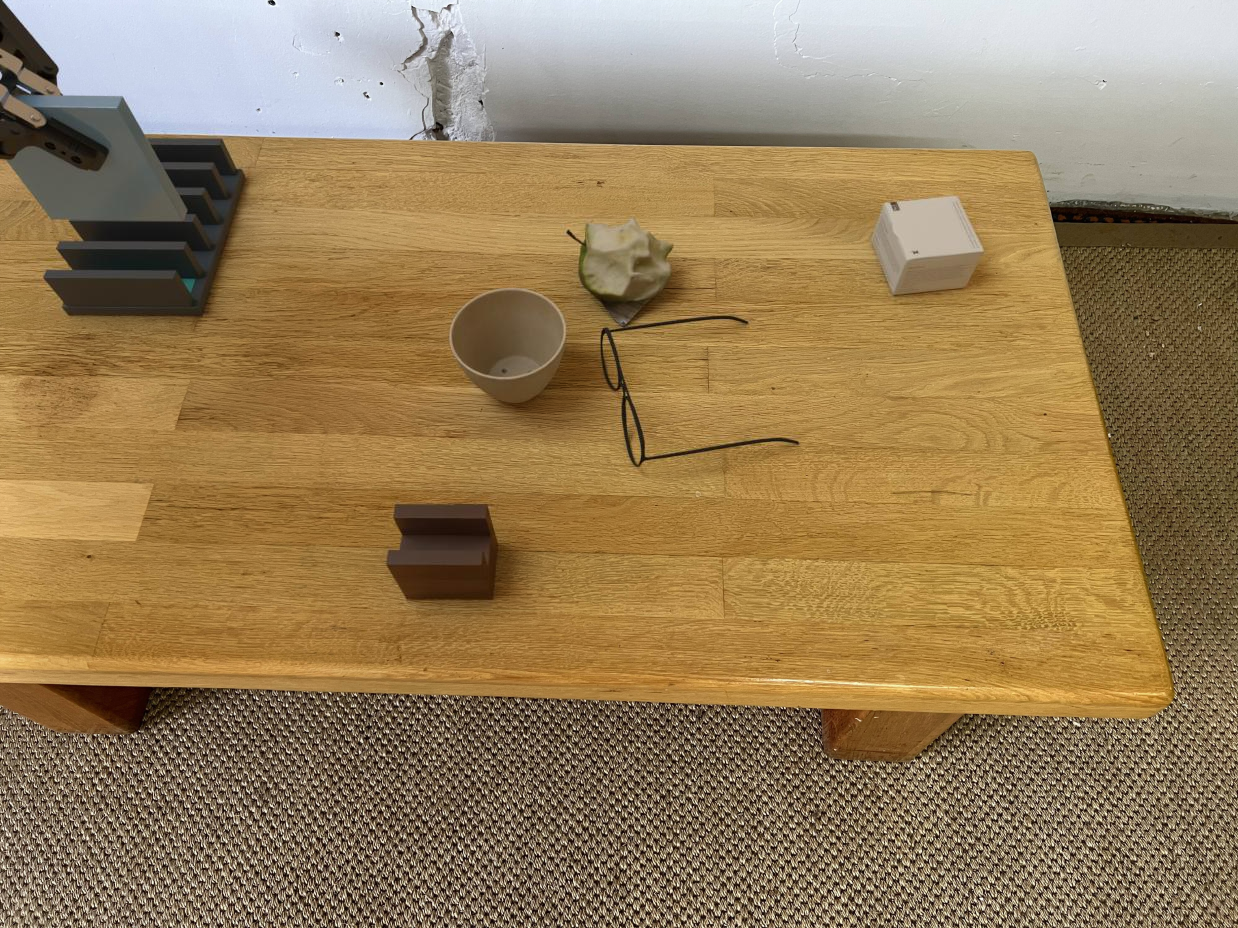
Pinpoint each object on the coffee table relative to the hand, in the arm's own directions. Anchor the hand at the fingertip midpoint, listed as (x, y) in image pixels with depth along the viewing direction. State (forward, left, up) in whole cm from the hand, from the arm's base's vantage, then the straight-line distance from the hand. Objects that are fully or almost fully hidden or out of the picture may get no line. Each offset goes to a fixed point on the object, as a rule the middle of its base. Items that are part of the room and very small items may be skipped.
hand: (107, 152), depth 60 cm
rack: (-6, +18, -24) cm, 30 cm away
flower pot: (+24, -11, -24) cm, 36 cm away
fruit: (+37, -3, -24) cm, 44 cm away
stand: (+14, -27, -24) cm, 39 cm away
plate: (-2, +1, -6) cm, 6 cm away
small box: (+66, -9, -24) cm, 71 cm away
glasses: (+39, -17, -24) cm, 49 cm away
